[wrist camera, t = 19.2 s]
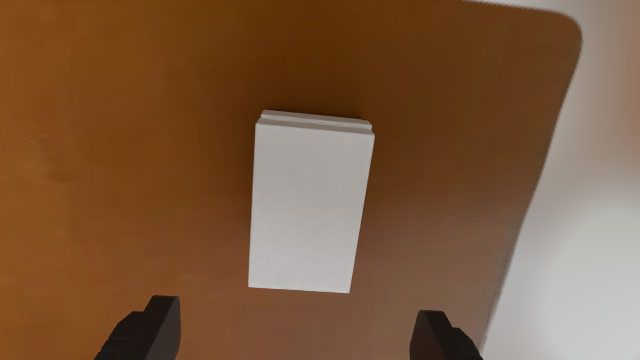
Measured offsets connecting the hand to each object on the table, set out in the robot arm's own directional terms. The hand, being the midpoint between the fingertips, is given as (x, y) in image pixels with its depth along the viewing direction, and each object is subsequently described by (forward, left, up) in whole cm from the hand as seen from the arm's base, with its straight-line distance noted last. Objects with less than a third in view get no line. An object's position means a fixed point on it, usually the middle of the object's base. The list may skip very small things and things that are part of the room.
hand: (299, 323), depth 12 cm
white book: (0, 0, -10) cm, 10 cm away
